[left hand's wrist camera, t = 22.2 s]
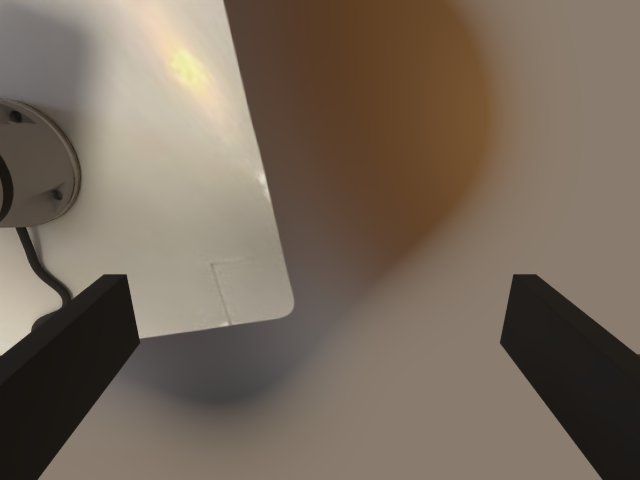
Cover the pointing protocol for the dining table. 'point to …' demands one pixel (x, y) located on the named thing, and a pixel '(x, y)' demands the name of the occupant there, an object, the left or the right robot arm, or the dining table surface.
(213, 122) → the dining table surface
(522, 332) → the left robot arm
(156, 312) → the dining table surface
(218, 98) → the dining table surface
